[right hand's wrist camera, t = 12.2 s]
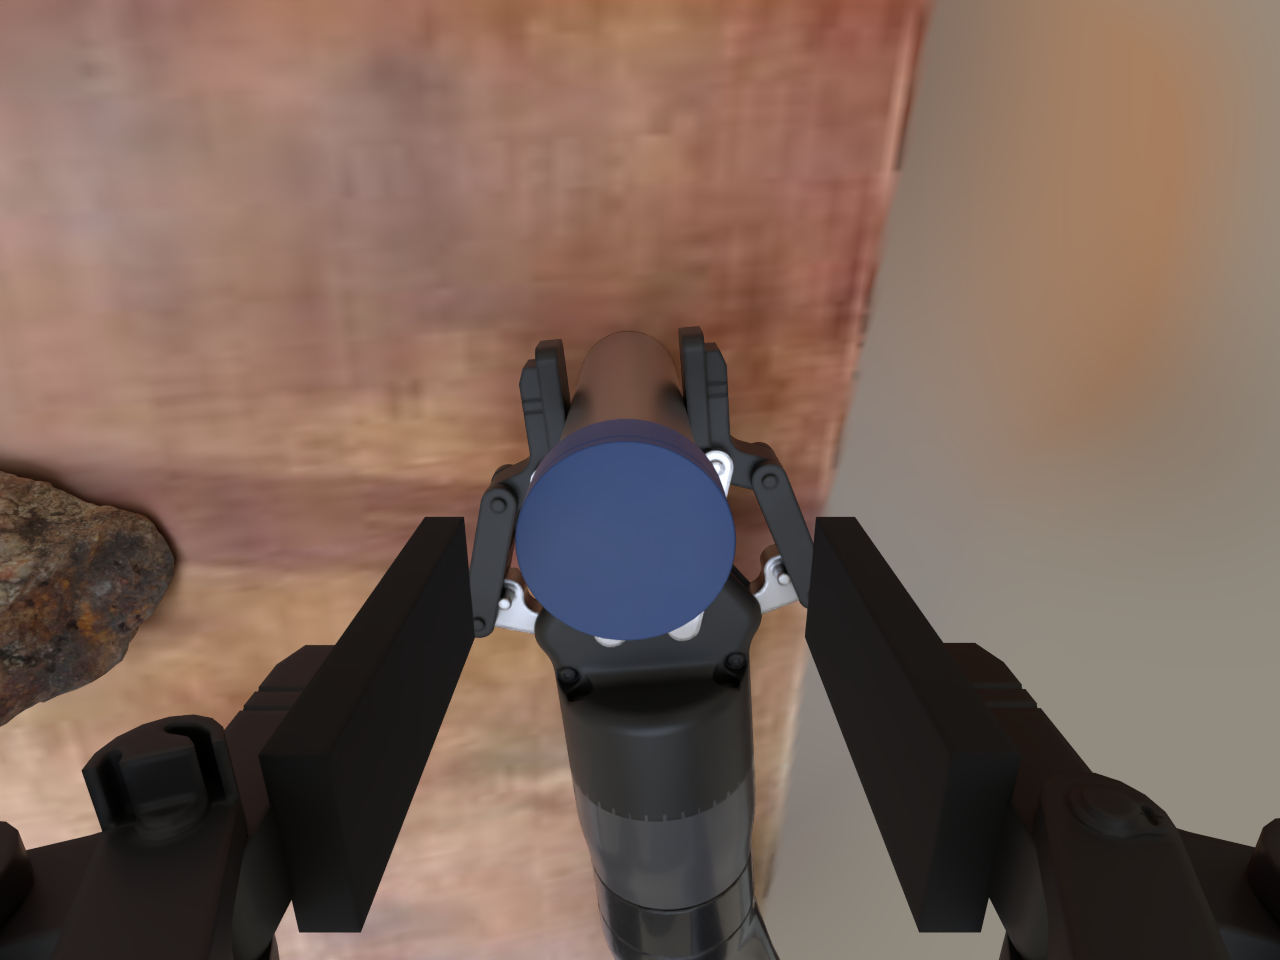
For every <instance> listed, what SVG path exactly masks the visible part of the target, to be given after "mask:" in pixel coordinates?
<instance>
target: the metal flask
mask: <svg viewBox="0 0 1280 960" xmlns="http://www.w3.org/2000/svg"><path fill="white" fill-rule="evenodd" d="M614 419H638V420H645V421H650V422H654V423H657V424H661V425H664V426H666V427H668V428H671V429H673V430H675V431H677V432H678V433H680V434H682V435H684V436H685V437H687V438H688V439H689V440H691V441H692V442H693V443H694V444H695V441H694V437H693V434H692V430H691V426H690V423H689V419H688V415H687V411H686V408H685V404H684V400H683V396H682V393H681V389H680V385H679V382H678V378H677V374H676V370H675V367H674V363H673V361H672V358H671V357H670V355H669V353H668V352H667V350H666V349H665V348H664V347H663V346H662V345H661V344H660V343H659V342H658V341H657V340H655V339H653V338H652V337H650V336H648V335H645V334H642V333H638V332H619V333H615V334H612V335H609V336H607V337H605V338H604V339H602V340H601V341H599V342H598V343H597V344H596V345H595V346H594V347H593V348H592V349H591V350H590V352H589V353H588V355H587V357H586V359H585V361H584V364H583V367H582V370H581V373H580V377H579V380H578V383H577V386H576V390H575V393H574V396H573V400H572V403H571V406H570V409H569V413H568V416H567V419H566V422H565V426H564V429H563V432H562V435H561V439H560V441H561V440H563V439H564V438H566V437H567V436H568V435H570V434H572V433H573V432H575V431H577V430H579V429H581V428H583V427H586V426H589V425H591V424H594V423H598V422H602V421H606V420H614Z"/></svg>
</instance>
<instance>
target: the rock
mask: <svg viewBox="0 0 1280 960" xmlns="http://www.w3.org/2000/svg"><path fill="white" fill-rule="evenodd" d="M174 560H175V558H174V556H173V554H172V552H171V550H170V548H169V546H168V544H167V542H166V541H165V539H164V538H163V536H162V535H161V534H160V533H159V532H158V531H157V529H156V527H155V525H154V524H153V523H152V522H151V521H150V520H149V519H148V518H146V517H145V516H143V515H140V514H138V513H133V512H129V511H125V510H122V509H118V508H115V507H112V506H108V505H103V506H97V505H95V504H93V503H87V502H85V501H83V500H81V499H79V498H77V497H75V496H73V495H71V494H69V493H67V492H65V491H62V490H59V489H57V488H54V487H52V485H51V483H48V482H43V481H34V480H32V479H28V478H21V477H17V476H15V475H13V474H9V473H6V472H2V471H0V727H1V726H3V725H4V724H6V723H8V722H9V721H10V720H11V719H13V718H14V717H15V716H16V715H18V714H19V713H21V712H22V711H24V710H26V709H28V708H30V707H32V706H34V705H35V704H37V703H38V702H46V701H48V700H50V699H52V698H54V697H56V696H58V695H61V694H64V693H67V692H70V691H73V690H76V689H78V688H80V687H82V686H85V685H87V684H89V683H91V682H93V681H95V680H96V679H98V678H99V677H101V676H103V675H104V674H106V673H107V672H108V671H109V670H111V669H112V668H113V667H114V666H115V665H117V664H118V663H119V662H121V661H122V660H123V658H124V656H125V654H126V652H127V650H128V646H129V643H130V641H131V640H132V639H133V638H134V636H135V634H136V633H137V631H138V627H139V625H140V624H141V623H142V622H143V621H145V620H146V619H147V618H148V617H150V616H151V615H152V614H153V613H154V611H155V609H156V607H157V606H158V604H159V602H160V601H161V599H162V597H163V595H164V593H165V591H166V589H167V587H168V585H169V583H170V581H171V579H172V577H173V573H174Z"/></svg>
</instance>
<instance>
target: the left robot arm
mask: <svg viewBox="0 0 1280 960" xmlns="http://www.w3.org/2000/svg"><path fill="white" fill-rule="evenodd" d="M679 346H680V360H681V374H682V388H683V400H684V404H685V408H686V411H687V415H688V419H689V423H690V426H691V430H692V434H693V437H694V441H695V444H696V445H697V446H698V447H699V448H700V449H701V450H702V451H703V452H704V453H705V455H706V456H707V457H708V459H709V460H710V461H711V463H712V464H713V466H714V468H715V469H716V471H717V473H718V475H719V477H720V480H721V483H722V485H723V488H724V491H725V494H726V497H727V494H728V489H729V485H730V484H731V485H736V486H740V487H744V488H748V489H752V490H753V491H754V493H755V496H756V498H757V500H758V503H759V505H760V508H761V510H762V513H763V515H764V517H765V520H766V522H767V525H768V527H769V530H770V532H771V534H772V537H773V539H774V542H775V544H774V545H770V546H768V547H767V548H766V549H765V550H764V551H763V552H762V554H761V556H760V564H761V572H760V575H759V576H758V578H757V579H756V580H754V581H753V582H751V583H750V582H749V581H748V580H747V579H746V578H745V577H744V576H743V575H742V574H741V572H740V571H739V570H738V569H737V568H736V567H735V566H734V565H732V568H731V571H730V574H729V576H728V579H727V581H726V583H725V584H724V586H723V588H722V590H721V591H720V593H719V594H718V595H717V597H716V598H715V600H714V601H713V602H712V603H711V604H710V605H709V606H708V607H707V608H706V609H705V610H704V611H703V612H702V613H701V614H700V615H698V616H697V617H696V618H695V619H693V620H692V621H690V622H688V623H687V624H685V625H684V626H682V627H680V628H678V629H676V630H673V631H671V632H669V633H666V634H663V635H660V636H656V637H652V638H647V639H640V640H612V639H604V638H600V637H596V636H592V635H589V634H586V633H583V632H580V631H578V630H576V629H574V628H572V627H570V626H568V625H566V624H564V623H563V622H561V621H560V620H558V619H557V618H555V617H554V616H553V615H552V614H551V613H550V612H548V611H547V610H546V609H545V608H544V607H543V606H542V605H541V604H540V603H539V601H538V600H536V599H535V598H533V597H532V596H531V595H530V594H529V592H528V589H527V584H526V582H525V580H524V578H523V576H522V573H521V571H520V570H519V569H517V568H510V566H511V560H512V555H513V550H514V544H515V535H516V525H517V521H518V517H519V513H520V510H521V507H522V504H523V502H524V499H525V496H526V494H527V491H528V488H529V485H530V483H531V480H532V478H533V476H534V473H535V471H536V469H537V468H538V466H539V464H540V463H541V461H542V460H543V459H544V457H545V456H546V455H547V454H548V452H549V451H550V450H551V449H552V448H553V447H554V446H555V445H557V444H558V443H559V442H560V439H561V435H562V432H563V429H564V426H565V422H566V419H567V416H568V413H569V409H570V406H571V402H570V394H569V387H568V379H567V371H566V364H565V356H564V349H563V344H562V340H561V339H556V340H546V341H540V343H539V344H538V346H537V347H536V349H535V359H531V360H528V362H527V363H526V365H525V366H524V367H523V370H522V374H521V378H520V383H519V387H520V393H521V399H522V406H523V412H524V419H525V425H526V431H527V438H528V444H529V450H530V456H529V457H528V458H527V459H525V460H523V461H521V462H519V463H517V464H515V465H511V464H507V465H503V466H501V467H499V468H498V469H497V470H496V472H495V473H494V475H493V477H492V481H491V484H490V486H489V488H488V489H487V490H486V491H485V493H484V495H483V497H482V499H481V504H480V510H479V516H478V522H477V528H476V534H475V540H474V547H473V553H472V559H471V565H470V571H469V577H470V588H471V599H472V609H473V620H474V631H475V637H476V638H483V637H486V636H488V635H490V634H491V633H492V631H493V630H494V627H500V628H506V629H511V630H516V631H522V632H527V633H532V634H535V638H536V640H537V642H538V644H539V646H540V647H541V648H542V649H543V650H544V652H545V653H546V654H547V655H548V656H549V658H550V660H551V661H552V664H553V666H554V670H555V675H556V681H557V687H558V693H559V700H560V706H561V712H562V718H563V724H564V730H565V737H566V743H567V750H568V756H569V762H570V768H571V774H572V781H573V787H574V793H575V799H576V805H577V811H578V816H579V820H580V824H581V827H582V831H583V834H584V837H585V840H586V842H587V845H588V848H589V851H590V855H591V860H592V867H593V873H594V879H595V886H596V892H597V898H598V904H599V912H600V917H601V922H602V927H603V932H604V935H605V938H606V941H607V944H608V947H609V949H610V951H611V953H612V955H613V957H614V958H615V960H780V958H779V956H778V955H777V952H776V951H775V949H774V947H773V944H772V942H771V940H770V937H769V935H768V932H767V929H766V926H765V924H764V921H763V918H762V915H761V913H760V910H759V907H758V904H757V901H756V898H755V895H754V873H753V853H752V828H753V821H754V814H755V771H754V750H753V727H752V705H751V683H750V662H749V648H750V644H751V641H752V638H753V636H754V634H755V633H756V631H757V629H758V628H759V625H760V622H761V616H762V614H764V613H767V612H769V611H772V610H775V609H777V608H780V607H782V606H785V605H788V604H790V603H793V602H796V601H798V600H799V601H800V603H801V604H802V606H804V607H805V608H807V609H808V599H809V588H810V577H811V566H812V556H813V545H814V544H813V541H812V538H811V536H810V533H809V531H808V528H807V526H806V523H805V520H804V518H803V515H802V513H801V510H800V508H799V505H798V503H797V500H796V497H795V495H794V492H793V490H792V487H791V485H790V482H789V479H788V477H787V474H786V472H785V471H784V469H783V467H782V465H781V464H780V462H779V460H778V458H777V457H776V455H775V453H774V452H773V450H772V448H771V447H770V446H769V445H767V444H765V443H762V442H756V443H752V444H751V443H747V442H743V441H740V440H737V439H735V438H734V437H732V436H731V435H730V423H729V403H728V384H727V365H726V363H725V361H724V358H723V356H722V354H721V352H720V350H719V348H718V347H717V345H716V344H715V342H714V343H704V336H703V332H702V330H701V329H700V327H699V326H697V327H686V328H679Z"/></svg>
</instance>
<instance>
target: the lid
mask: <svg viewBox="0 0 1280 960" xmlns="http://www.w3.org/2000/svg"><path fill="white" fill-rule="evenodd" d="M515 544H516V554H517V560H518V564H519V567H520V570H521V573H522V576H523V578H524V580H525V582H526V584H527V586H528V588H529V589H530V591H531V592H532V594H533V595H534V596H535V598H536V599H537V600H538V601H539V603H540V604H541V605H542V606H543V607H544V608H545V609H546V610H547V611H548V612H550V613H551V614H552V615H553V616H554V617H555V618H557V619H558V620H560V621H561V622H563V623H564V624H566V625H568V626H570V627H572V628H574V629H576V630H578V631H580V632H583V633H586V634H589V635H592V636H596V637H600V638H604V639H612V640H640V639H647V638H652V637H656V636H660V635H663V634H666V633H669V632H671V631H673V630H676V629H678V628H680V627H682V626H684V625H685V624H687V623H688V622H690V621H692V620H693V619H695V618H696V617H697V616H698V615H700V614H701V613H702V612H703V611H704V610H705V609H706V608H707V607H708V606H709V605H710V604H711V603H712V602H713V601H714V600H715V598H716V597H717V595H718V594H719V593H720V591H721V590H722V588H723V586H724V584H725V583H726V581H727V579H728V576H729V574H730V571H731V568H732V565H733V561H734V556H735V547H736V534H735V525H734V521H733V516H732V513H731V510H730V507H729V504H728V500H727V497H726V494H725V491H724V488H723V485H722V483H721V480H720V477H719V475H718V473H717V471H716V469H715V468H714V466H713V464H712V463H711V461H710V460H709V459H708V457H707V456H706V455H705V453H704V452H703V451H702V450H701V449H700V448H699V447H698V446H697V445H696V444H694V443H693V442H692V441H691V440H689V439H688V438H687V437H685V436H684V435H682V434H680V433H678V432H677V431H675V430H673V429H671V428H668V427H666V426H664V425H661V424H657V423H654V422H650V421H645V420H638V419H614V420H606V421H602V422H598V423H594V424H591V425H589V426H586V427H583V428H581V429H579V430H577V431H575V432H573V433H572V434H570V435H568V436H567V437H566V438H564V439H563V440H561V441H560V442H559V443H558V444H557V445H555V446H554V447H553V448H552V449H551V450H550V451H549V452H548V454H547V455H546V456H545V457H544V459H543V460H542V461H541V463H540V464H539V466H538V468H537V469H536V471H535V473H534V476H533V478H532V480H531V483H530V485H529V488H528V491H527V494H526V496H525V499H524V502H523V504H522V507H521V510H520V513H519V517H518V521H517V525H516V535H515Z"/></svg>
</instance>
